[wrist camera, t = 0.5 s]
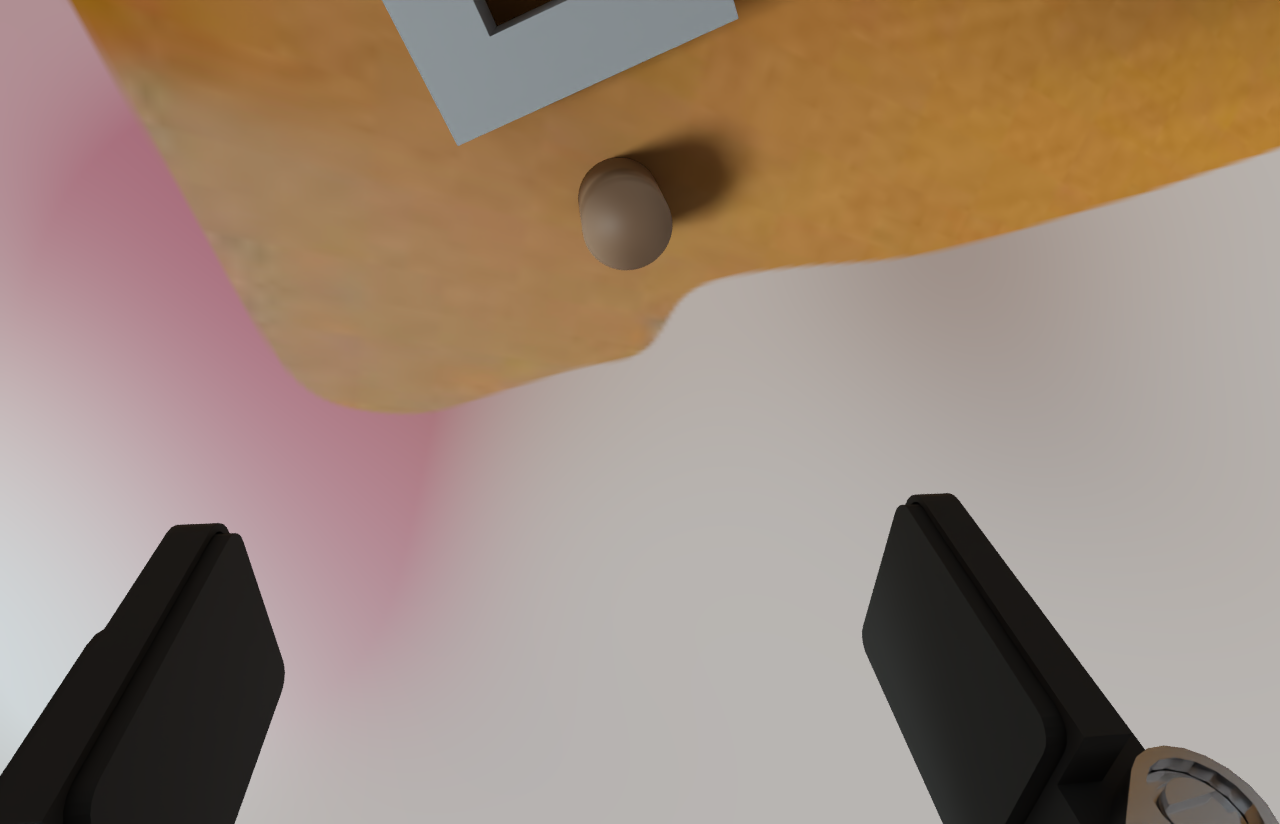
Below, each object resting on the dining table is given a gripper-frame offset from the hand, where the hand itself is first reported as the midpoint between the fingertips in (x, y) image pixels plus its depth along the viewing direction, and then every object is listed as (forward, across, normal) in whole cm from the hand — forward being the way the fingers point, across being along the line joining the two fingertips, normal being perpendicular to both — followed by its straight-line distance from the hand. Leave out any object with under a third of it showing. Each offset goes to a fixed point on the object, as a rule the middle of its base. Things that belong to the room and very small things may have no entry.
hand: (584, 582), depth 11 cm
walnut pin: (+28, -3, +2) cm, 29 cm away
